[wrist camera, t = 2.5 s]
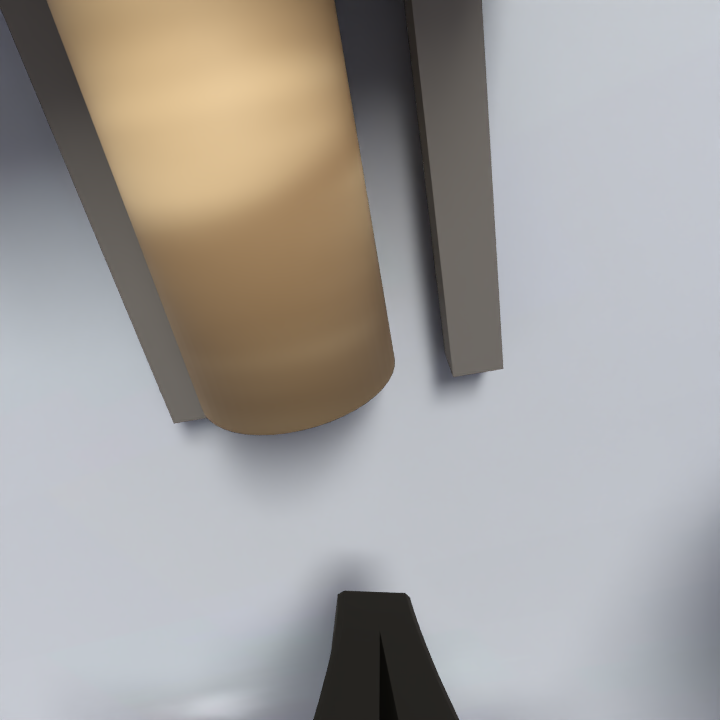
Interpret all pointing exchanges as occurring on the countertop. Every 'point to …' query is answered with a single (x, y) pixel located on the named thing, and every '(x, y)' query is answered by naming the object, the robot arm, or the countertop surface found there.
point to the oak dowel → (242, 197)
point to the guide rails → (441, 171)
